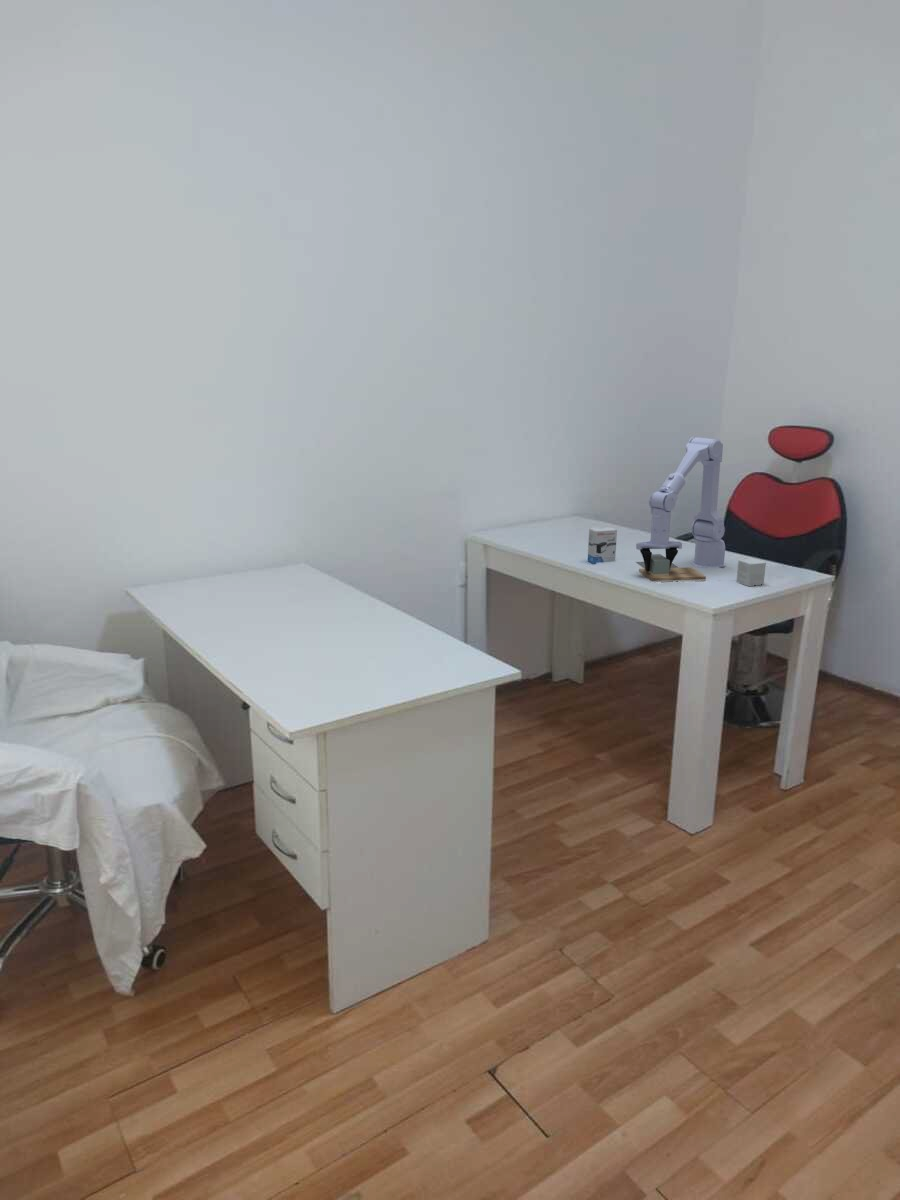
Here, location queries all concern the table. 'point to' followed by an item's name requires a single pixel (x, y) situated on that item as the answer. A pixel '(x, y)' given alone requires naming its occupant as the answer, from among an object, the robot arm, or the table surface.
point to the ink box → (602, 544)
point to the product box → (751, 572)
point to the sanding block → (659, 565)
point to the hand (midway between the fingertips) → (657, 570)
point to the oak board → (676, 575)
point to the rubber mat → (644, 565)
